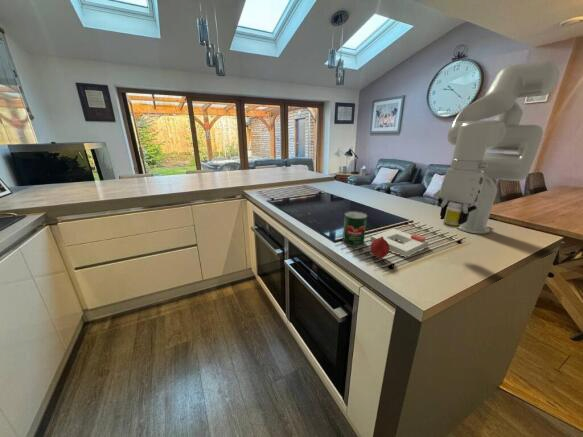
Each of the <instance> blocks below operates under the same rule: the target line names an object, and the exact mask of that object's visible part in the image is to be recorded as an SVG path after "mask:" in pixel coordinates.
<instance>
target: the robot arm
mask: <svg viewBox="0 0 583 437" xmlns="http://www.w3.org/2000/svg"><path fill="white" fill-rule="evenodd" d="M559 79H560V69H559V66H558V64H557V63H556V62H555V61H553V60H550V59H542V60H536V61H532V62H531V61H530V62H522V63H516V64H511V65H509V66H505V67H504V68H502V69H501V70H499V72H498V73H497V74H496V76H495V77H494V79H493V81H492V82H491V85H490V86H489V88H488V90H487V91H486V92H485V95H484V96H483V97H481V98H478V99H477V100H475V101H473V102H472V103H470V104H468V105H467V106H465V107H464V108H462V109H461V110H460V111H459V112H458V113H457V115H456V117H455V119H454V120H453V122H452V123H451V125H450V127H449V130H448V133H447V141H448V143H449V144H450V145H453V146H455V147H454V151H453V155H452V160H451V164H450V167H449V168H448V169H447V170H446V172H445V175H444V177H443V180H442V183H441V186H440V189H438V190H437V191H436V192H434V193H433V198H435V200H436V201H437V203H438V204H439V205H440V206H439V207H440V208H441V209H440V212H439V214H440V218H439V219H440V220H444V217H445V213H446V208H447V207H448V206H449V202H450V201H454V202H458V203H463V212H462V213H461V215H460V219H459V223H458V224H460V227H459V228H457V229H458V230H460V231H463V232H466V233H469V234H478V235H486V234H488V233H489V234H490V231H491V229H490V228H489V227H488V226H487V225H488V222H489V218H490V215H491V212H492V208H493V205H494V203H495V199H496V196H497V192H498V187H497V185H496V184H495V182H494V180H503V181H510V182H514V181H515V182H519V181H523V180H525V179H526V178H527V177H528V176H529V174H530V171H531V169H532V166H533V163H534V161H535V159H536V155H537V153H538V150H539V148H540V145H541V142H542V139H543V134H544V131H543V128H542V127H541V126H540V125H537V124H520V122H521V120H522V117H523V114H524V112H523V109H522V107H521V106H520V105H519V103H518V102H517V100H518V98H519V99H520V98H530V97H531V98H534V97H543V96H547V95H549V94H550V93H551V92H553V91H554V89H555V88H556V86H557V85H558V81H559ZM490 118H492V119H491V120H486V119H490ZM486 150H490V151H494V152H486ZM495 151H497V152H495ZM498 152H502V153H498ZM503 152H512V153H503ZM513 152H516V153H513Z"/></svg>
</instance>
